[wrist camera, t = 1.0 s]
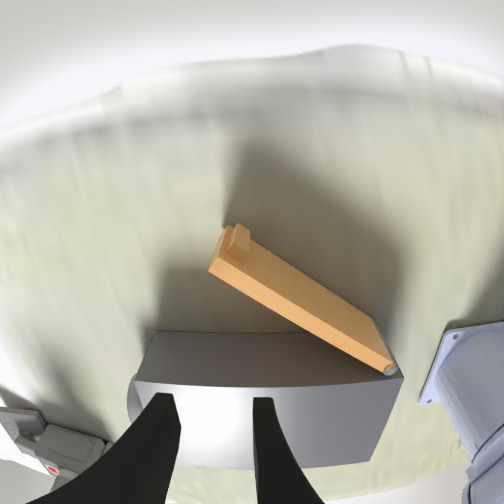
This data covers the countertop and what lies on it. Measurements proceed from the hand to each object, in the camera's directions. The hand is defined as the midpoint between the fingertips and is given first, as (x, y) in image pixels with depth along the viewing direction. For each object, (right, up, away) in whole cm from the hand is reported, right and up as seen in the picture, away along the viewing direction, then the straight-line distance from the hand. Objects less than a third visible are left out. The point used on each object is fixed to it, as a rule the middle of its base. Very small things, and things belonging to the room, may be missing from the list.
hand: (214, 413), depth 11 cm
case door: (+5, +4, +8) cm, 10 cm away
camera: (-20, -15, +17) cm, 30 cm away
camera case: (+2, -3, +11) cm, 12 cm away
